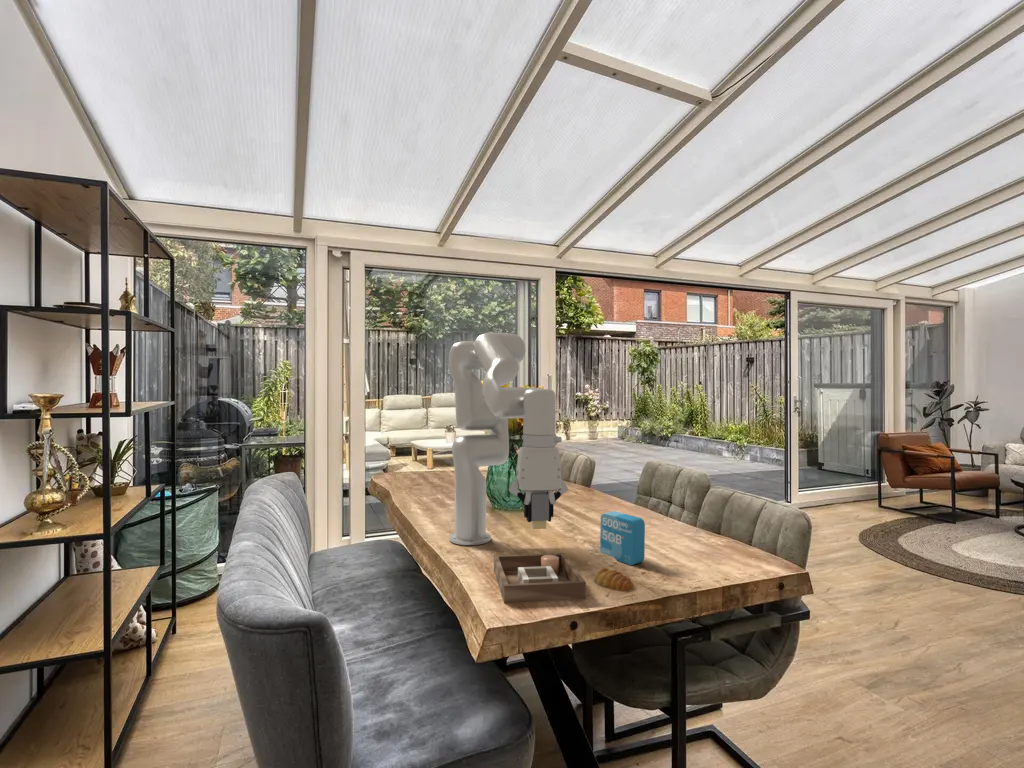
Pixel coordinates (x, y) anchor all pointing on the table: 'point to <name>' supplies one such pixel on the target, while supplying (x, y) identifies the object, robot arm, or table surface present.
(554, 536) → the table surface
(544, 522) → the gray block
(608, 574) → the pastry
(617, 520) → the data package
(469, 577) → the table surface
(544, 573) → the crate
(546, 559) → the ball
